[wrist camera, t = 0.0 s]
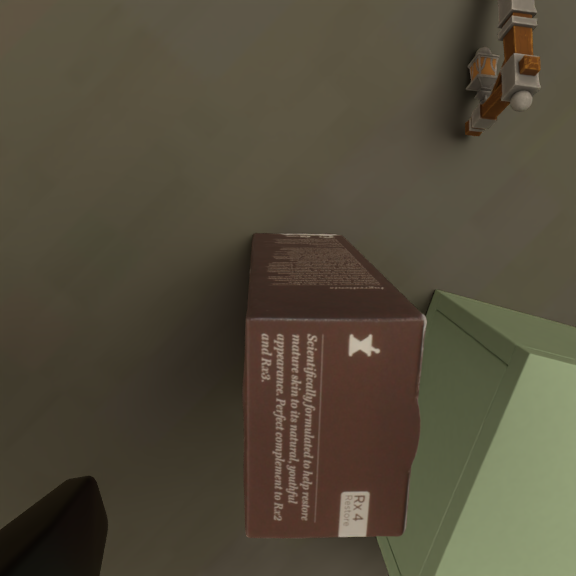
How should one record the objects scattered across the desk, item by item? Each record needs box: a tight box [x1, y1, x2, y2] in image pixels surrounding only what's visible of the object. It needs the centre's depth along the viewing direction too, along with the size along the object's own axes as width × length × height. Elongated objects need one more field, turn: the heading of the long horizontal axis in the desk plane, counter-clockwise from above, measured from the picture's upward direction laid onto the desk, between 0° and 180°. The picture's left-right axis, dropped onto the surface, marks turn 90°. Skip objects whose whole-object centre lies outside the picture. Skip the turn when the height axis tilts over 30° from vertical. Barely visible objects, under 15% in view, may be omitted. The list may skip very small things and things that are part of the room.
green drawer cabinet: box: [376, 290, 576, 576], centre depth 22 cm, size 14×12×8 cm
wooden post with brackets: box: [465, 0, 541, 136], centre depth 19 cm, size 2×8×4 cm, turn 174°
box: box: [242, 233, 427, 538], centre depth 17 cm, size 6×4×12 cm
